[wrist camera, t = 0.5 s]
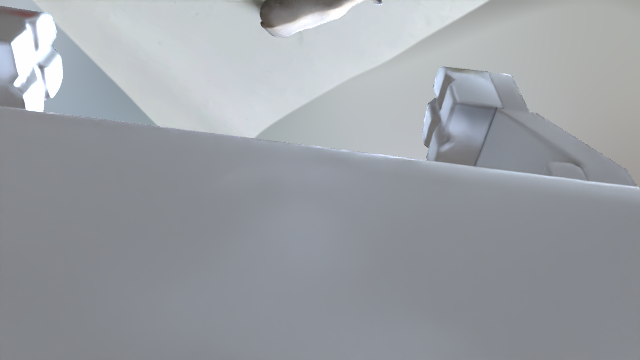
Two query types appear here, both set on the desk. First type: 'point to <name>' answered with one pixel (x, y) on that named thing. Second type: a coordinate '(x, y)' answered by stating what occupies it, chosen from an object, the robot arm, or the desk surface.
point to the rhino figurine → (301, 14)
